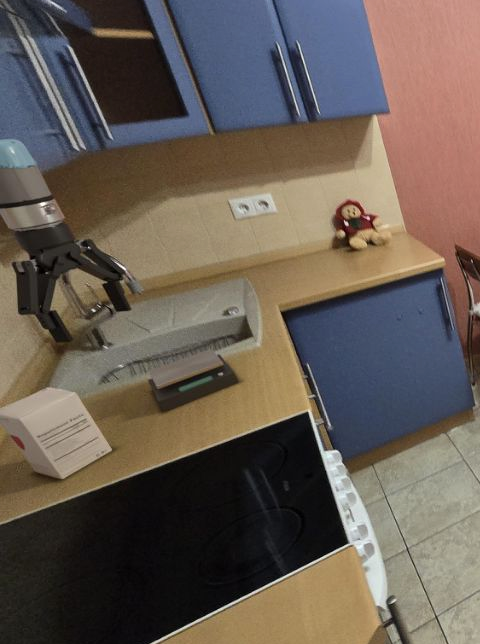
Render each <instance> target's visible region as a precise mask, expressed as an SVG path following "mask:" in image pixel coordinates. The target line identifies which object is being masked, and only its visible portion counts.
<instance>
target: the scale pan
mask: <svg viewBox="0 0 480 644" xmlns="http://www.w3.org/2000/svg"><path fill="white" fill-rule="evenodd" d="M217 355H218V354H216V352H215V351H214V350H213V348H209V349H207V350H203V351H201V352H198V353H195V354H192V355H190V356H189V355H188V356H186V357H183V358H181V359H178V360H175V361H173V362H170V363H166V364H164V365H160V366H158V367H155V368H153V369H152V368H151V369H149V370H148V372H149V375H150V377H151V379H153V381H154V383H155V385H156V387H157V389H160V388H163V387H166V386H168V385H171V384H174V383H176V382H179V381H182V380H184V379H187V378H190V377H192V376H195V375H198V374H200V373H203V372H206V371H208V370H211V369H214V368H216V367H219V366H222V365H224V364H223V362H222V361H221V360H220V358H219V357H218V356H217Z"/></svg>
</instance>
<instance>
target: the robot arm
mask: <svg viewBox="0 0 480 644" xmlns="http://www.w3.org/2000/svg"><path fill="white" fill-rule="evenodd" d="M0 216H1V217H2V219H3V221H4V222H5V225H6V226H7V228H8V229H11V230H14V231H13V233H12V235H13V237H14V239H15V241H16V242H17V244H18V246H19V247H20V249H21V250H22V251H24V252H25V253H27V255H28V259H26V260H17V261H12V262H11V267H12V269H13V271H14V273H15V276H16V277H15V281H16V299H17V300H16V301H17V302H16V303H17V313H18V315H20V316H31V315H33V316H35V318H36V320H37V322H38V323H39V324H40V326H41V327H42V329H44V330H47V331H48V332H49V334H50V335H51V337H52V338H53V341H54V342H55V343H56V344H60V343H62V344H63V343H71V342H73V341H74V338H73V336H72V335H71V333H70V331H69V330H68V328H67V326H66V324H65V323H64V322H63V320H62V318H61V316H60V314H59V313H58V311H57V309H52V303H53V298H54V294H55V290H56V285H57V280H59V279H60V277H61V275H65V274H66V273H68V272H69V271H73V270H77V269H78V270H80V271H82V272H84V273H86V274H88V275H90V276H93V277H95V278H97V279H99V280H101V281H103V282H104V283H102V284H101V286H102V288H103V290H104V292H105V293H106V295H107V298H108V299H109V301H110V303H111V305H112V306H113V308H114V310H115V312H116V313H121V312H122V313H123V312H130V311H132V310H133V308H132V306H131V305H130V302H129V301H128V299H127V298H126V291H125V289H124V287H123V285H122V284H121V281H124V276H125V275H126V270H125V269H124V268H123V267H121V266H120V265H119V264H118V263H117V262H115V261H114V260H113V259H111V258H110V256H108V255H107V254H106V253H104V252H103V251H102V250H101V249H99V247H98V246H97V245H96V244H95V242H94V240H93V239H91V238H82V239H77V237H76V235H75V233H74V231H73V229H72V228H71V225H70V224H69V222H66V221H63V220H65V218H66V217H65V215H64V213H63V211H62V209H61V208H60V206H59V203H58V202H57V200H56V199H55V198H54V195H53V194H52V192H51V191H50V189H49V187H48V184H47V182H46V180H45V178H44V177H43V175H42V173H41V170H40V168H39V166H38V163H37V161H36V160H35V159H34V158H33V157H32V154H31V153H30V152H29V150H28V148H27V147H26V145H25V144H24V143H23V142H22V141H20V140H19V139H14V138H4V139H0ZM81 253H82V254H83V255H84V256H85V257H84V256H83V255H81Z"/></svg>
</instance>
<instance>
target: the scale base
mask: <svg viewBox="0 0 480 644" xmlns="http://www.w3.org/2000/svg"><path fill="white" fill-rule="evenodd" d="M216 355H217V356H218V357H219V358H220V360H221V361H222V362H223V364H224V365H222V366H219V367H216V368H214V369H211V370H208V371H206V372H203V373H200V374H198V375H195V376H192V377H190V378H187V379H184V380H182V381H179V382H176V383H174V384H171V385H168V386H166V387H163V388H160V389H157V387H156V385H155V383H154V381H153V379H152V378H150V379H147V382H148V384H149V386H150V388H151V391H152V392H153V395H154V396H155V398H156V401H157V403H158V404H159V406H160V408H161V410H162V411H163V413H166V412H167V411H170V410H173V409H175V408H178V407H181V406H183V405H185V404H188V403H190V402H193V401H195V400H198V399H200V398H203V397H205V396H208V395H210V394H213V393H215V392H216V393H217V392H218V391H220V390H223V389H225V388H228V387H231V386H233V385H235V384H238V383H239V379H238V377H237V376H236V372H234V370H233V369H232V368H231V367H230V365H229V364H228V363H227V361H226V360H225V359H224V357H223V356H222V355H221V354H219V353H218V354H216Z"/></svg>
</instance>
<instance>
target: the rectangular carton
mask: <svg viewBox="0 0 480 644" xmlns="http://www.w3.org/2000/svg"><path fill="white" fill-rule="evenodd" d="M0 426H1V427H2V429H3V430H4V431H5V433H6V434H7V435H8V437H9V438H10V439H11V441H12V442H13V444H14V445H15V446H16V447H17V449H18V450H19V452H20V454H22V455H23V457H24V458H25V460H26V461H27V462H28V464H29V465H30V466H31V468H32V469H33V471H34V472H35V473H38V474H41V475H44V476H48V477H51V478H55V479H58V480H64V479H66V478H67V477H69V476H71V475H72V474H75V473H76V472H77V471H79V470H81V469H83V468H85V467H86V466H88V465H90V464H91V463H94V462H95V461H96V460H98V459H100V458H102V457H104V456H105V455H108V454H109V453H110V452H112V451H113V449H112V447H111V446H110V444H109V443H108V441H107V439H106V438H105V436H104V435H103V433H102V432H101V430H100V429H99V427H98V425H97V423H96V422H95V421H94V419H93V417H92V416H91V414H90V412H89V410H88V409H87V408H86V406H85V405H84V403H83V402H82V400H81V398H80V397H79V395H78V394H77V392H74V391H69V390H65V389H63V388H62V389H61V388H54V387H49V386H47V387H44V388H43V389H41V390H39V391H36V392H35V393H32V394H30V395H28V396H25V397H23V398H21V399H19V400H17V401H14V402H11V403H9V404H7V405H5V406H2V407H0Z"/></svg>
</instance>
